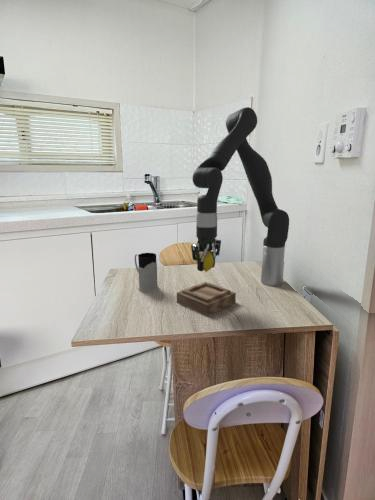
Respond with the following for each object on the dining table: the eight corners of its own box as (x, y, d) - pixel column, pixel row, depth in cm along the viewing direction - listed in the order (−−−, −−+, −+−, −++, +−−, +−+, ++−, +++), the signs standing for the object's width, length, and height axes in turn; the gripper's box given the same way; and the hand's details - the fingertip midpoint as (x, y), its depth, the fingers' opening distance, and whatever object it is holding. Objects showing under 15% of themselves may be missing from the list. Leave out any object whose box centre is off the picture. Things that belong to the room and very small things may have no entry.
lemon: (198, 269, 119) (198, 249, 117) (212, 269, 120) (212, 249, 117) (199, 274, 114) (199, 253, 112) (214, 273, 114) (215, 252, 112)
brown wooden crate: (205, 291, 130) (205, 280, 129) (235, 302, 119) (235, 290, 118) (176, 302, 120) (176, 290, 119) (207, 315, 109) (207, 302, 107)
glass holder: (145, 294, 128) (144, 259, 124) (127, 284, 138) (126, 252, 134) (162, 288, 133) (161, 255, 130) (144, 280, 144) (143, 249, 140)
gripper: (212, 221, 119) (211, 263, 124) (185, 225, 110) (185, 270, 114) (227, 223, 114) (226, 267, 118) (200, 228, 105) (199, 275, 109)
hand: (206, 268), depth 116 cm, fingers closed on lemon, 5 cm apart
